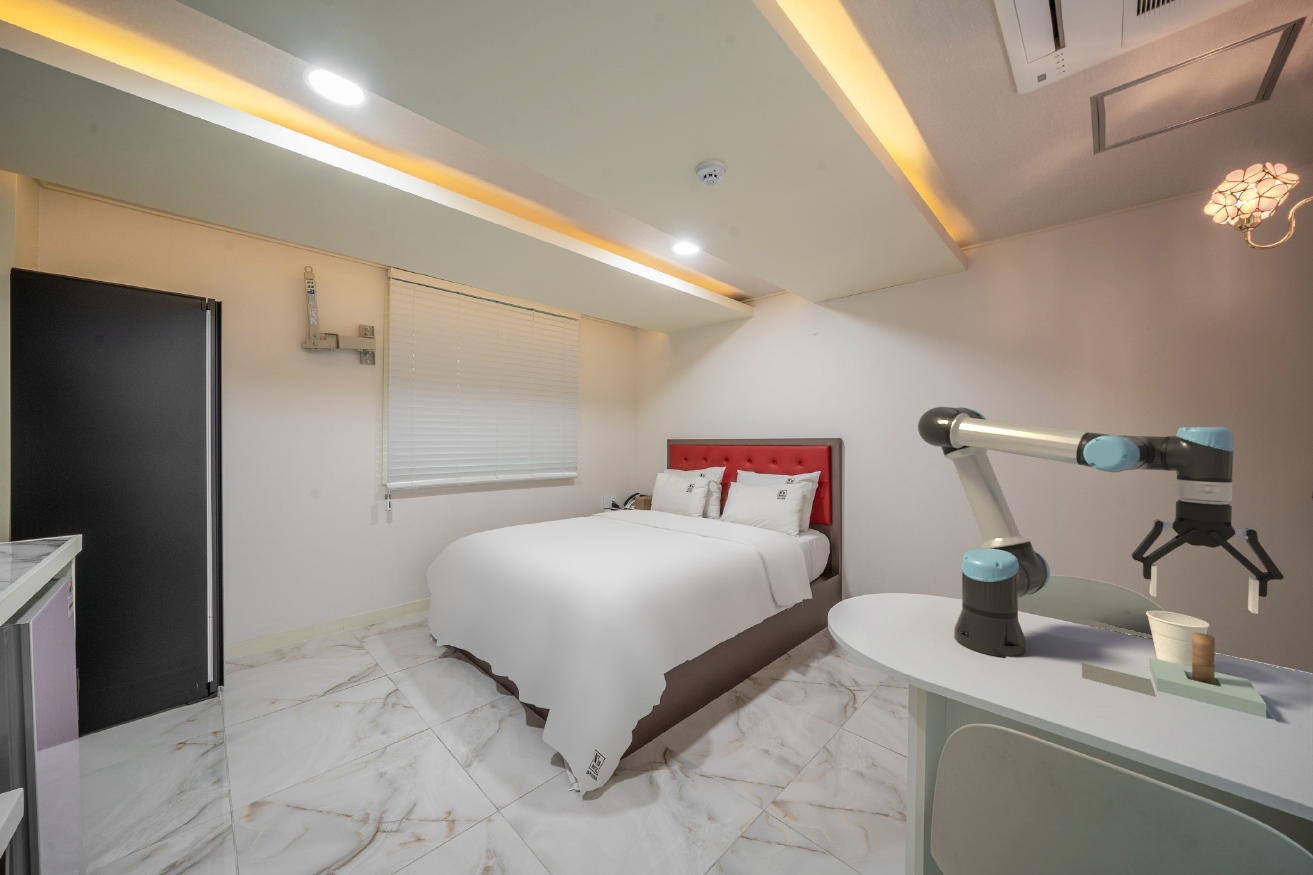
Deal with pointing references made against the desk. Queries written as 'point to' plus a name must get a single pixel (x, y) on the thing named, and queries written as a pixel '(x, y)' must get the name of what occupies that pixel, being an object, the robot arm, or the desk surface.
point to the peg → (1203, 658)
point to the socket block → (1207, 688)
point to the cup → (1174, 635)
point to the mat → (1117, 679)
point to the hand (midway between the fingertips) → (1200, 602)
